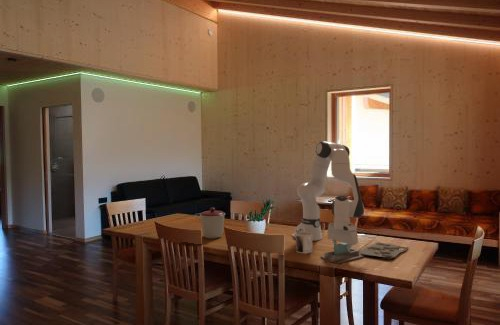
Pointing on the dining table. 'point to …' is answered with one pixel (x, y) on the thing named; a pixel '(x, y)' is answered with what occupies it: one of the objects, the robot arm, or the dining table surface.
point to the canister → (212, 223)
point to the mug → (304, 242)
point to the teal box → (340, 248)
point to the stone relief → (383, 250)
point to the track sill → (342, 256)
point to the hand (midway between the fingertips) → (342, 249)
